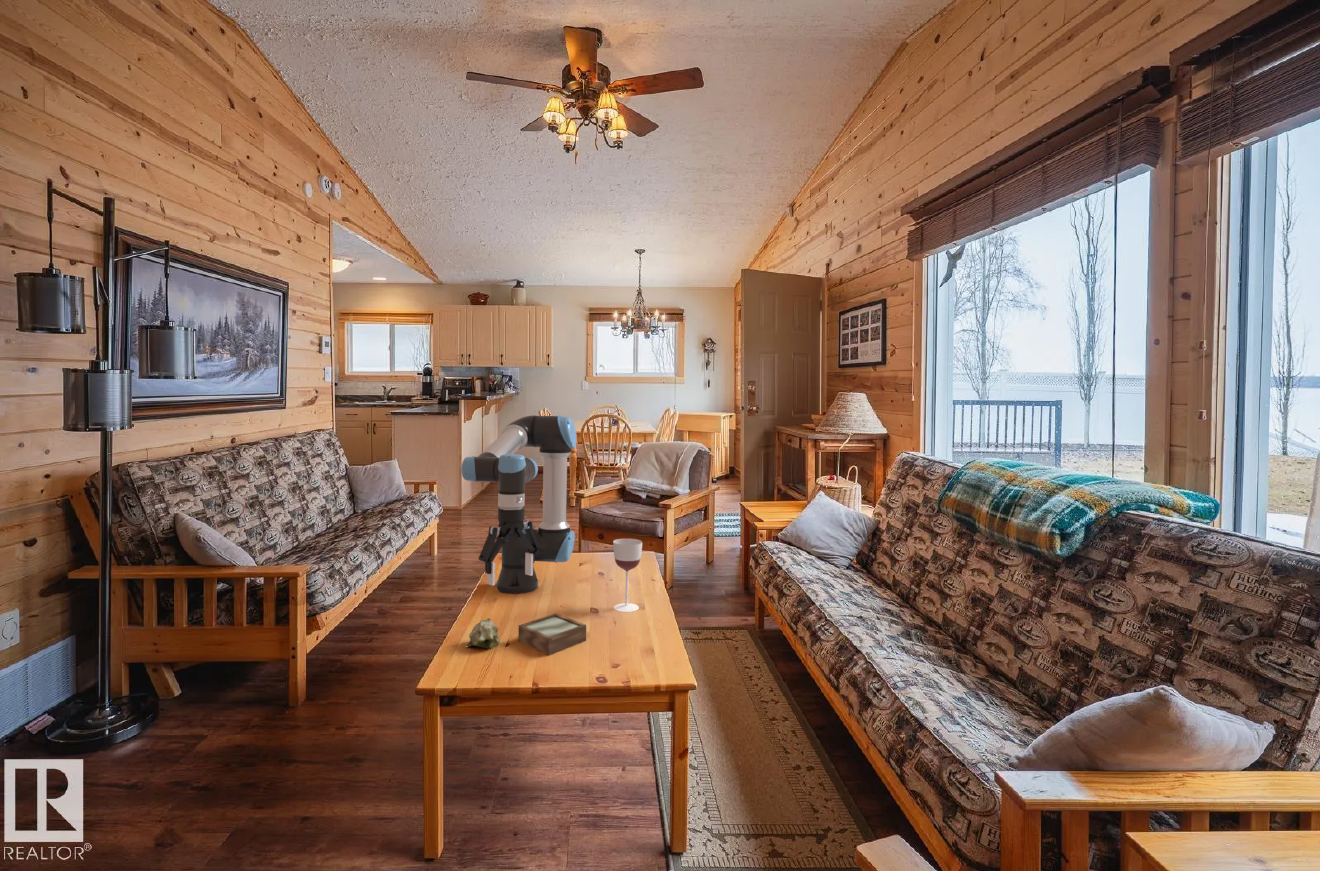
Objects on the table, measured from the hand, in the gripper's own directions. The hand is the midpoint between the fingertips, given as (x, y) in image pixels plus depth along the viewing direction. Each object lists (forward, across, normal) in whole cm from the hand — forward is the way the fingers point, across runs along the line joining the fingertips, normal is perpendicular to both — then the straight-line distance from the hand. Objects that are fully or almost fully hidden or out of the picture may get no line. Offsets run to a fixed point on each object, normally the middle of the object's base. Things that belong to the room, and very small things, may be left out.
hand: (510, 579), depth 178 cm
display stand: (+18, +8, -9) cm, 22 cm away
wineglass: (+18, +44, -6) cm, 48 cm away
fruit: (+19, -7, +3) cm, 20 cm away
